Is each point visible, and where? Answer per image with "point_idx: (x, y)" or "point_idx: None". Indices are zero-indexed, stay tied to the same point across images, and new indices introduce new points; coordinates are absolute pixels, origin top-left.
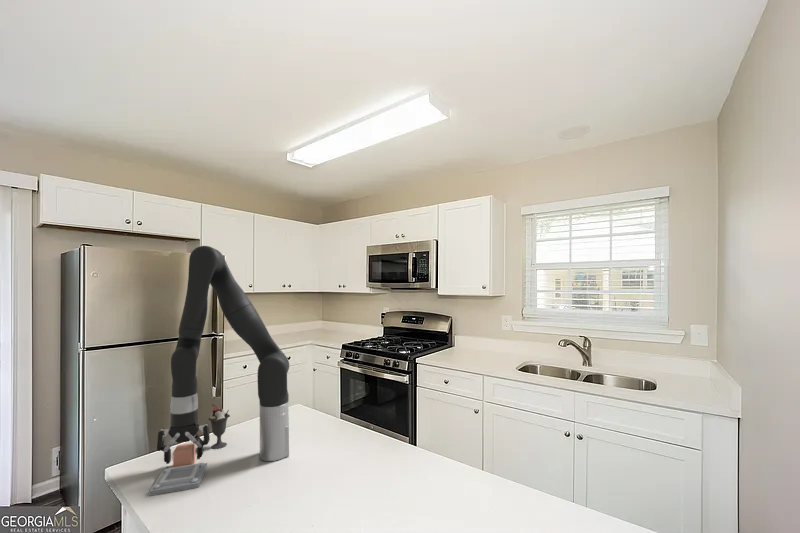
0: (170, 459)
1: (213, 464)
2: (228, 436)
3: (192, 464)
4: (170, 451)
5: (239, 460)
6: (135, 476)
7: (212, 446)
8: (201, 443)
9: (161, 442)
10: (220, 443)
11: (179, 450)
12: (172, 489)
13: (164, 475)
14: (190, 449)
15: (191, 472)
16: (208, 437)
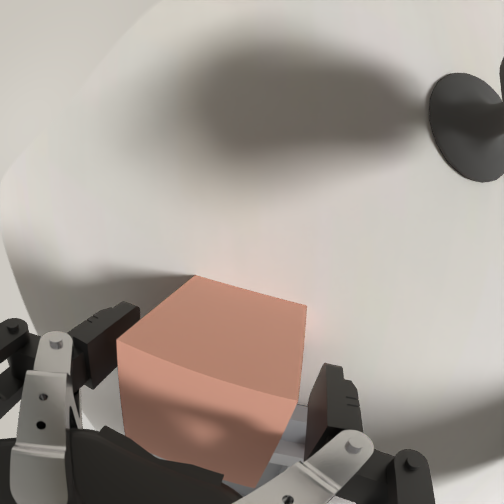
0: (133, 316)
1: (391, 404)
2: (501, 22)
3: (274, 452)
4: (97, 347)
5: (486, 410)
6: (48, 292)
7: (439, 117)
8: (340, 489)
9: (5, 411)
10: (495, 144)
11: (163, 451)
12: None
13: (156, 456)
14: (246, 485)
15: (269, 468)
16: (416, 495)
